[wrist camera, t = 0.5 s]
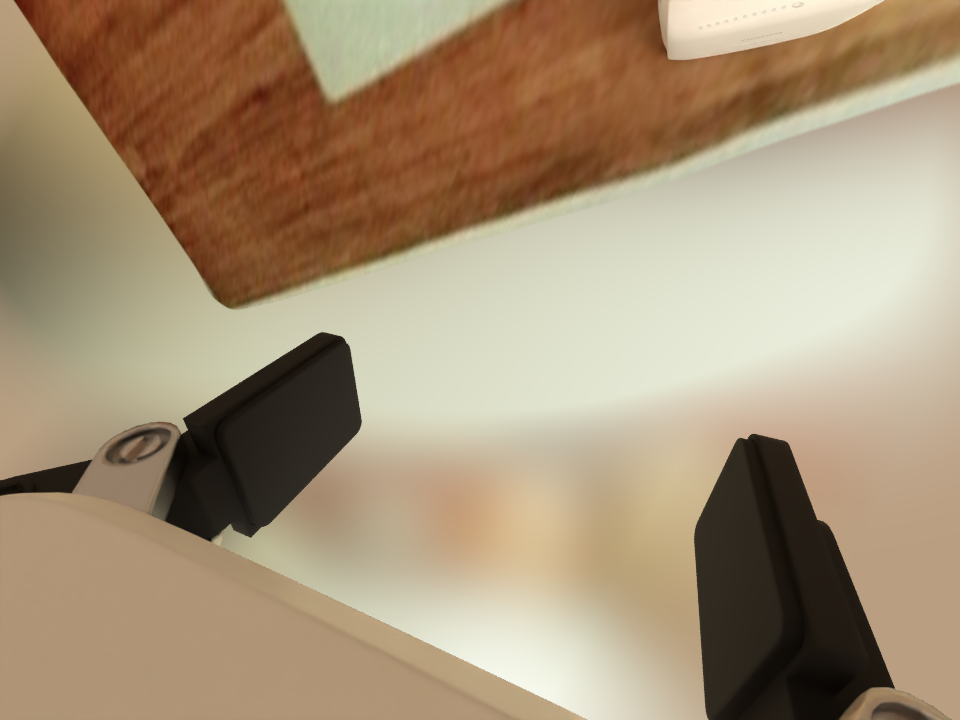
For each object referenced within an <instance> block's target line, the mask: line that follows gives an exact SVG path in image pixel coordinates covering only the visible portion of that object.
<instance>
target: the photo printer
mask: <svg viewBox="0 0 960 720" xmlns="http://www.w3.org/2000/svg"><path fill="white" fill-rule="evenodd" d="M883 1H884V0H658V10H659V19H660V27H661V34H662V40H663V43H664V46H665V48H666V50H667V57H668V59H670V60H689V59H697V58H703V57H709V56H715V55H721V54H727V53H732V52H737V51H742V50H747V49H752V48H757V47H762V46H766V45H771V44H776V43H780V42H784V41H789V40H793V39H797V38H801V37H805V36H810V35H813V34H816V33H820V32H823V31H825V30H828V29H831V28H833V27H835V26H838V25H840V24H842V23H844V22H846V21H848V20H850V19H851V18H853V17H855V16H857V15H859V14H861V13H863V12H864V11H866V10H868V9H870V8H872V7H873V6H875V5H877V4H879V3H881V2H883Z"/></svg>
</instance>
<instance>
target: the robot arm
mask: <svg viewBox="0 0 960 720" xmlns="http://www.w3.org/2000/svg"><path fill="white" fill-rule="evenodd" d="M183 420H184V422H185V424H186V427H187V428H188V431H186V432H185V433H183V434H182V435H181V433H180V431H179V429H178V427H177V426H176V425H174V424H172V423H167V422H154V423H147V424H143V425H139V426H136V427H133V428H131V429H128V430H125V431H123V432H122V433H120V434H118V435H116V436H114V437H113V438H111V439H110V440H109V441H107V442H106V443H105V444H104V445H103V446H102V447H101V448H100V449H99V451H98V452H97V454H96V455H95V457H94V458H93V460H88V461H84V462H80V463H75V464H70V465H66V466H61V467H56V468H52V469H47V470H43V471H39V472H34V473H29V474H25V475H20V476H15V477H12V478H8V479H5V480H0V720H587V719H585V718H582V717H580V716H579V715H576V714H575V713H572V712H571V711H568V710H567V709H565V708H562V707H560V706H558V705H556V704H554V703H552V702H550V701H548V700H546V699H544V698H541V697H539V696H537V695H535V694H533V693H531V692H529V691H527V690H525V689H522V688H520V687H518V686H516V685H514V684H512V683H510V682H508V681H506V680H504V679H502V678H499V677H497V676H495V675H493V674H491V673H489V672H486V671H484V670H482V669H480V668H478V667H476V666H474V665H472V664H470V663H468V662H466V661H464V660H462V659H459V658H457V657H455V656H453V655H451V654H449V653H446V652H445V651H442V650H441V649H438V648H436V647H434V646H432V645H430V644H428V643H426V642H423V641H421V640H419V639H417V638H415V637H413V636H411V635H409V634H407V633H405V632H402V631H400V630H398V629H396V628H394V627H392V626H390V625H388V624H385V623H383V622H381V621H379V620H377V619H375V618H372V617H370V616H368V615H366V614H364V613H362V612H360V611H357V610H356V609H353V608H351V607H349V606H347V605H345V604H343V603H341V602H339V601H336V600H334V599H332V598H330V597H328V596H326V595H324V594H321V593H319V592H317V591H315V590H313V589H311V588H309V587H306V586H304V585H302V584H300V583H298V582H295V581H294V580H291V579H289V578H287V577H285V576H283V575H281V574H279V573H276V572H274V571H272V570H270V569H268V568H266V567H263V566H261V565H259V564H257V563H255V562H253V561H250V560H248V559H246V558H244V557H242V556H240V555H237V554H235V553H233V552H231V551H229V550H226V549H224V548H222V547H221V543H222V538H223V534H224V529H225V528H226V527H227V526H228V525H229V524H230V523H231V525H232V527H233V530H235V531H237V532H239V533H242V534H244V535H246V536H248V537H250V538H251V537H252V536H253V535H254V534H255V533H256V532H257V531H258V530H259V529H260V528H261V527H264V526H266V525H268V524H269V523H271V522H272V521H273V520H274V519H275V518H276V517H277V515H278V514H279V513H280V512H281V511H282V510H283V509H284V508H285V507H286V506H287V505H288V504H289V503H290V502H291V501H292V500H293V499H294V498H295V497H296V496H297V495H298V494H299V493H300V492H301V491H302V490H303V489H304V488H305V487H306V486H307V485H308V484H309V483H310V481H311V480H312V479H313V478H314V477H315V476H316V475H317V474H318V473H319V472H320V471H321V470H322V469H323V468H324V467H325V466H326V465H327V464H328V463H329V462H330V461H331V460H332V459H333V458H334V457H335V456H336V455H337V454H338V453H339V452H340V451H341V449H342V448H343V447H344V446H345V445H346V444H347V443H348V442H349V441H350V440H351V439H352V438H353V437H354V436H355V435H356V434H357V433H358V431H359V429H360V427H361V422H362V420H361V414H360V408H359V401H358V395H357V389H356V383H355V376H354V370H353V364H352V358H351V351H350V347H349V345H348V344H347V343H346V341H345V339H344V338H343V337H341V336H337V335H333V334H329V333H324V332H321V333H319V334H317V335H315V336H314V337H312V338H310V339H309V340H307V341H306V342H304V343H302V344H301V345H299V346H298V347H296V348H294V349H293V350H291V351H290V352H288V353H286V354H285V355H283V356H282V357H280V358H279V359H277V360H275V361H274V362H272V363H271V364H269V365H267V366H266V367H264V368H263V369H261V370H259V371H258V372H256V373H255V374H253V375H251V376H250V377H249V378H247V379H245V380H244V381H242V382H240V383H239V384H237V385H236V386H234V387H232V388H231V389H229V390H228V391H226V392H225V393H223V394H221V395H220V396H218V397H217V398H215V399H213V400H212V401H210V402H209V403H207V404H205V405H204V406H202V407H201V408H199V409H198V410H196V411H195V412H193V413H191V414H189V415H188V416H186V417H185V418H183ZM694 544H695V557H696V573H697V588H698V603H699V616H700V617H699V618H700V633H701V648H702V663H703V677H704V691H705V692H704V693H705V707H706V714H707V717H708V719H709V720H951V719H950V718H948V717H947V716H946V715H944V714H943V713H942V712H940V711H938V709H936V708H935V707H934V706H932V705H930V704H928V703H926V702H924V701H923V700H920V699H919V698H917V697H915V696H913V695H911V694H909V693H905V692H903V691H899V690H896V689H895V687H894V685H893V682H892V680H891V677H890V675H889V672H888V670H887V667H886V665H885V662H884V660H883V657H882V655H881V652H880V650H879V647H878V645H877V642H876V640H875V637H874V635H873V632H872V630H871V627H870V625H869V622H868V620H867V617H866V615H865V613H864V610H863V607H862V605H861V603H860V600H859V597H858V595H857V592H856V590H855V587H854V585H853V582H852V580H851V578H850V575H849V572H848V570H847V568H846V565H845V562H844V560H843V557H842V555H841V552H840V550H839V547H838V545H837V542H836V540H835V537H834V535H833V533H832V531H831V529H830V527H829V526H828V525H827V524H826V523H824V522H823V521H820V520H817V518H816V515H815V513H814V510H813V508H812V505H811V502H810V499H809V497H808V494H807V491H806V489H805V486H804V483H803V481H802V478H801V475H800V473H799V470H798V467H797V465H796V462H795V459H794V457H793V454H792V451H791V449H790V446H789V444H788V443H787V442H785V441H783V440H778V439H774V438H769V437H765V436H761V435H757V434H751V435H750V436H749V437H748V439H743V438H739V439H738V440H737V441H736V443H735V445H734V447H733V449H732V451H731V453H730V455H729V457H728V459H727V461H726V463H725V466H724V468H723V470H722V472H721V474H720V476H719V478H718V480H717V482H716V484H715V486H714V488H713V491H712V493H711V495H710V497H709V499H708V501H707V503H706V505H705V507H704V509H703V512H702V514H701V516H700V518H699V520H698V522H697V525H696V528H695V536H694Z"/></svg>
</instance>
